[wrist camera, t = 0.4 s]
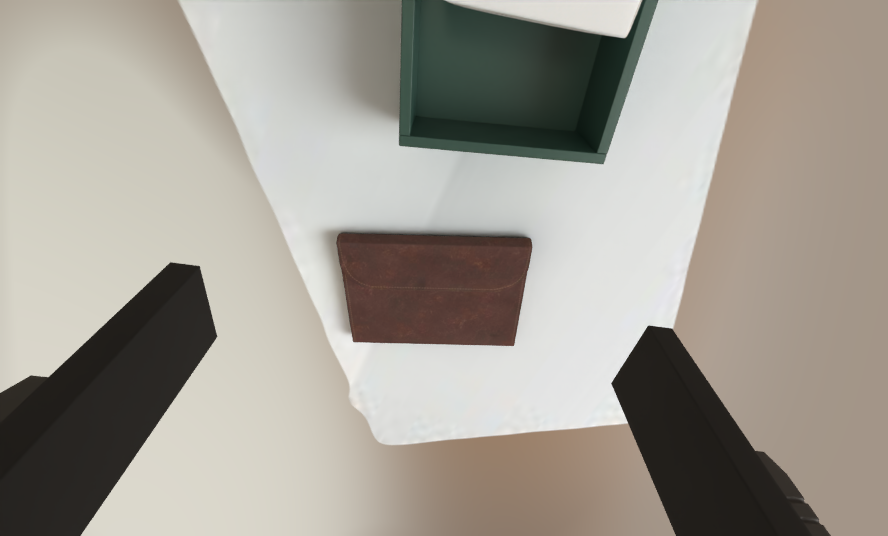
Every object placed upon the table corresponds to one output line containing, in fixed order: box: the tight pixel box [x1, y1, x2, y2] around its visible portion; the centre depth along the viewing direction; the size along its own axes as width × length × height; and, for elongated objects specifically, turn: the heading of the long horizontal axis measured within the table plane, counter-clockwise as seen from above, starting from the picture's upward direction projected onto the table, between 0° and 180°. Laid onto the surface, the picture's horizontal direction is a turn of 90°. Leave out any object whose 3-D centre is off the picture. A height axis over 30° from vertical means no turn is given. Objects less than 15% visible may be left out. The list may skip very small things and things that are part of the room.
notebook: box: [337, 233, 532, 346], centre depth 43 cm, size 15×20×2 cm
